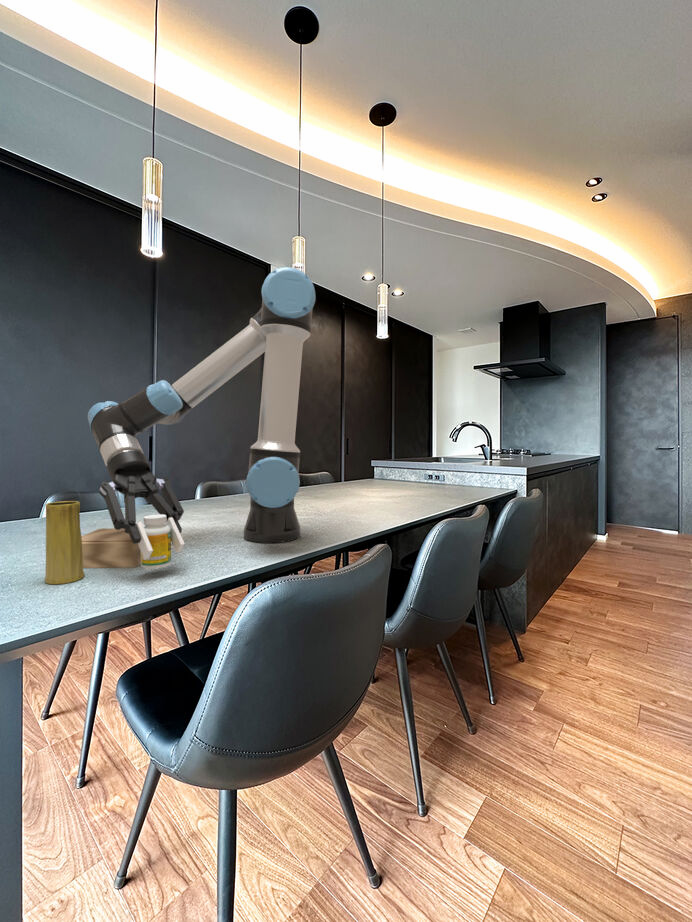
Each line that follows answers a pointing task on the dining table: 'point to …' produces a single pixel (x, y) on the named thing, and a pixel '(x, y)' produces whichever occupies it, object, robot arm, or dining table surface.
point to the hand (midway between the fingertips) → (165, 551)
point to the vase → (63, 543)
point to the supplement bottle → (157, 542)
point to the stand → (109, 549)
